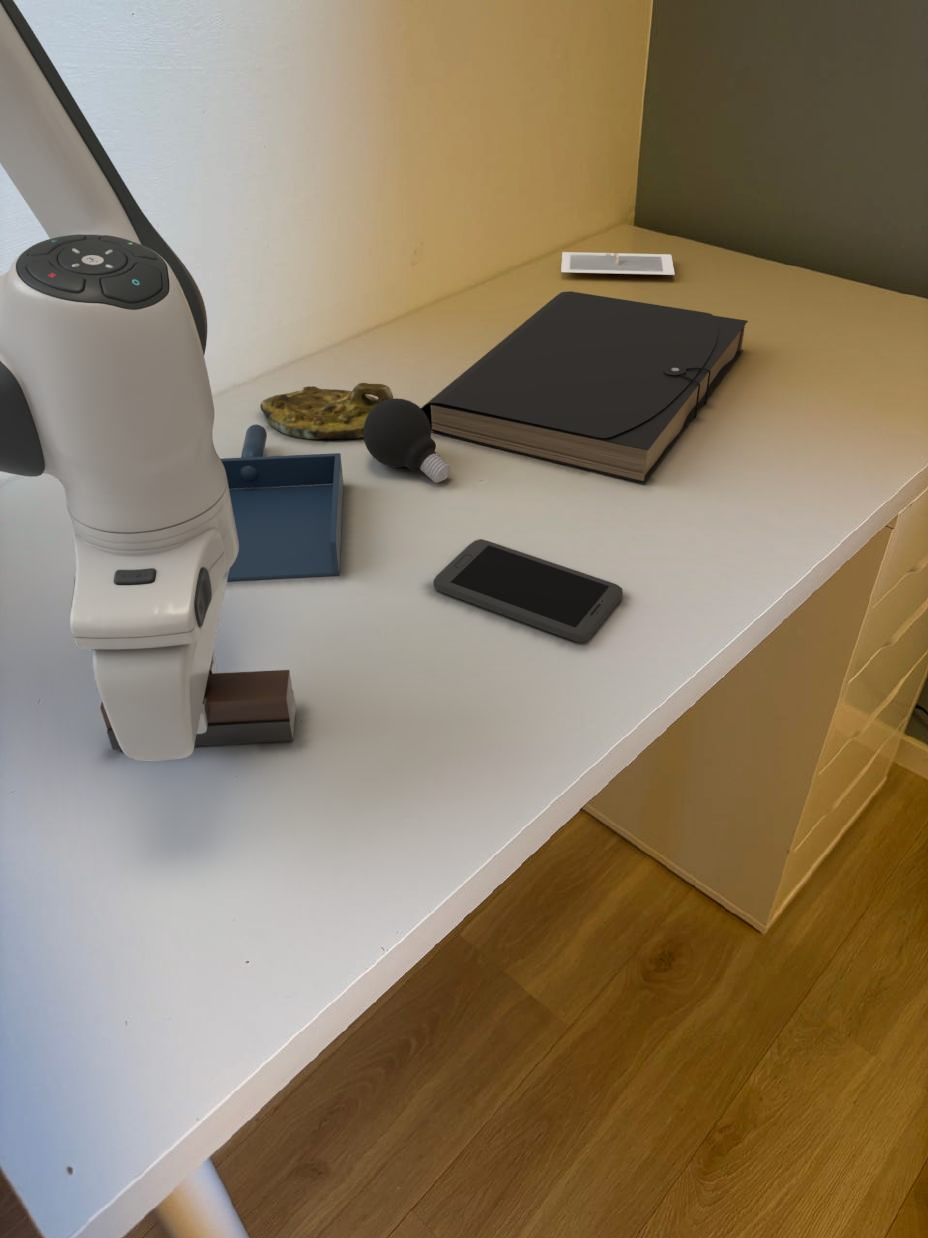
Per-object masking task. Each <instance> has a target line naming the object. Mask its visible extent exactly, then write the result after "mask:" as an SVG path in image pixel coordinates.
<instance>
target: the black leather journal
mask: <svg viewBox="0 0 928 1238" xmlns="http://www.w3.org/2000/svg"><path fill="white" fill-rule="evenodd" d="M748 322H749V321H748V320H746V319H740V318H733V317H726V316H720V315H715V314H714V315H713V314H712V313H710V312H704V311H700V310H699V311H698V310H693V309H686V308H679V307H673V306H667V305H660V304H654V303H648V302H641V301H635V300H629V299H624V298H623V299H621V298H616V297H611V296H603V295H597V294H591V293H584V292H578V291H570V290H569V291H561V292H559V293H558V294H557V295H555V296H554V297H553V298H552V299H550V300H549V301H548V302H547V303H545V304H544V305H543V306H542V307H541V308H540V309H538V310H537V311H536V312H534V314H532V315H531V316H530V317H529V318H528V319H527V320H525V321H524V322H523V323H522V324H520V325H519V326H518V327H516V329H514V330H513V331H512V332H511V333H510V334H508V335H506V337H505V338H504V339H502V340H501V341H500V342H498V344H496V345H495V346H494V347H493V348H491V349H490V350H489V351H488V352H486V354H484V355H483V356H482V357H480V358H479V359H478V360H477V361H475V363H473V364H472V365H471V366H470V367H469V368H467V369H466V370H465V371H464V372H463V373H461V374H460V375H459V376H457V378H455V379H454V380H453V381H452V382H450V383H449V384H448V385H447V386H445V387H444V388H443V389H442V390H441V391H440V392H438V393H437V394H436V395H435V396H434V397H433V398H431V399H430V400H429V401H427V402H426V403H425V404H424V405H423V406H422V407H420V408H421V409H422V410H423V411H424V413H425V414H426V416H427V418H428V420H429V423H430V427H431V432H432V433H434V434H436V435H442V436H445V437H449V438H453V439H458V440H461V441H464V442H469V443H474V444H479V445H483V446H486V447H491V448H495V449H499V450H502V451H507V452H511V453H516V454H521V455H524V456H528V457H532V458H536V459H541V460H544V461H549V462H554V463H558V464H562V465H567V466H569V467H573V468H579V469H583V470H587V471H591V472H595V473H599V474H604V475H607V476H612V477H616V478H620V479H624V480H628V481H634V482H636V483H641V484H646V483H647V482H648V480H649V478H650V477H651V476H652V475H653V473H654V472H655V471H656V469H657V468H658V466H659V465H660V464H661V462H662V461H663V460H664V458H665V457H666V456H667V454H668V453H669V452H670V450H672V447H673V446H674V445H675V443H676V442H677V441H678V439H679V438H680V437H681V435H682V434H683V432H684V431H685V430H686V429H687V427H688V426H689V424H691V422H692V421H693V420H694V419H697V415H698V412H699V411H700V410H701V409H702V407H703V406H704V405H707V402H708V399H709V398H710V396H711V395H712V394H713V392H714V391H715V389H716V388H717V387H718V385H719V384H720V382H721V381H722V380H723V379H724V377H725V376H726V375H727V373H728V372H729V370H730V369H731V368H732V367H733V365H734V364H735V362H737V360H738V359H739V357H740V355H742V353H743V352H744V349H743V341H744V335H745V328H746V327H745V326H746V324H748Z"/></svg>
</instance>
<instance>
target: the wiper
mask: <svg viewBox="0 0 928 1238" xmlns="http://www.w3.org/2000/svg"><path fill="white" fill-rule="evenodd" d="M204 699H206V700H207V705H208V710H209V714H210V715H209V721H208V726H207V730H206V732H205V733H202V734H196V739H195V746H194V747H197V746H198V747H199V746H216V745H217V746H219V745H238V744H253V743H254V744H255V743H273V742H292V741H294V734H295V733H294V732H295V722H296V714H297V713H296V712H297V705H296V699H295V692H294V689H293V684H292V676H291V671H290V670H289V669H276V670H259V671H258V670H257V671H255V670H254V671H234V672H218V673H214V674H208V679H207V684H206V689H205V694H204ZM99 708H100V712H101V715H102V718H103V720H104V723H105V727H106V734H107V737H108V740H109V743H110V746H111V748H112V751H120V750H121V751H122V749H121V747H120V745H119V743H118V741H117V738H116V736H115V734H114V731H113V729H112V726H111V724H110V721H109V719H108V716H107V713H106V711H105V708H104V705H103V702H102V701H101V704H100V706H99Z"/></svg>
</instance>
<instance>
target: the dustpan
mask: <svg viewBox="0 0 928 1238" xmlns="http://www.w3.org/2000/svg"><path fill="white" fill-rule="evenodd" d="M267 438H268V433H267V431H266V429H265V428H264V426H262V425H260V424H252V425H250V426H249V427H248V428H247V429H246V432H245V436H244V441H243V446H242V451H241V455H240V457H227V458H223V457H222V458H220V459H221V462H222V464H223V466H224V468H225V471H226V476H227V480H228V486H229V492H230V498H231V503H232V509H233V513H234V519H235V524H236V530H237V535H238V541H239V551H238V555H237V558H236V560H235V562H234V563H233V565H232V566H231V567H230V570H229V574H228V579H227V582H234V581H236V582H237V581H252V580H253V581H254V580H270V579H271V580H272V579H274V580H275V579H291V578H309V577H310V578H312V577H330V576H331V577H332V576H340V572H341V571H340V569H341V551H342V550H341V548H342V547H341V546H342V524H343V507H344V506H343V503H344V475H343V466H342V455H341V454H342V453H341V452H333V453H332V452H331V453H313V454H311V453H310V454H289V455H270V456H269V455H268V456H265V450H266V443H267Z"/></svg>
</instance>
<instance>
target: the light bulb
mask: <svg viewBox="0 0 928 1238" xmlns="http://www.w3.org/2000/svg"><path fill="white" fill-rule="evenodd" d="M421 408H422V407H420V406H419V405H417V404H416V403H415V402H413V401H411V400H408V399H404V398H393V399H389V400H385V401H383V402H381V403H379V404H378V405H376V406H375V407H374V408H373V409H372V410H371V411H370V413H369V414H368V416H367V418H366V420H365V424H364V430H363V435H364V437H363V440H364V441H363V442H364V444H365V447H366V449H367V451H368V452H369V454H370V455H371V456H372V457H373V458H374V459H375V460H376V461H378V462H379V463H380V464H382V465H384V466H387V467H393V468H402V467H403V468H404V467H406V468H407V469H408V470H410V471H417V470H420V471H421V472H422V473H424V474H425V475H426V476H427V477H428V478H429V479H430V480H432V482H433V483H436V484H439V483H441V482H442V481H444V480H446V479H448V477H449V474H450V471H451V465H450V464H449V463H448V462H447V461H446V460H445V459H444V458H442V456H441V455H439V454H438V453H437V452H436V448H437V445H436V442H435V440H434V439H433V438H432V431H431V427H430V423H429V420H428V418H427V416H426V414H425V413H424V411H423V410H422V409H421Z"/></svg>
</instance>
